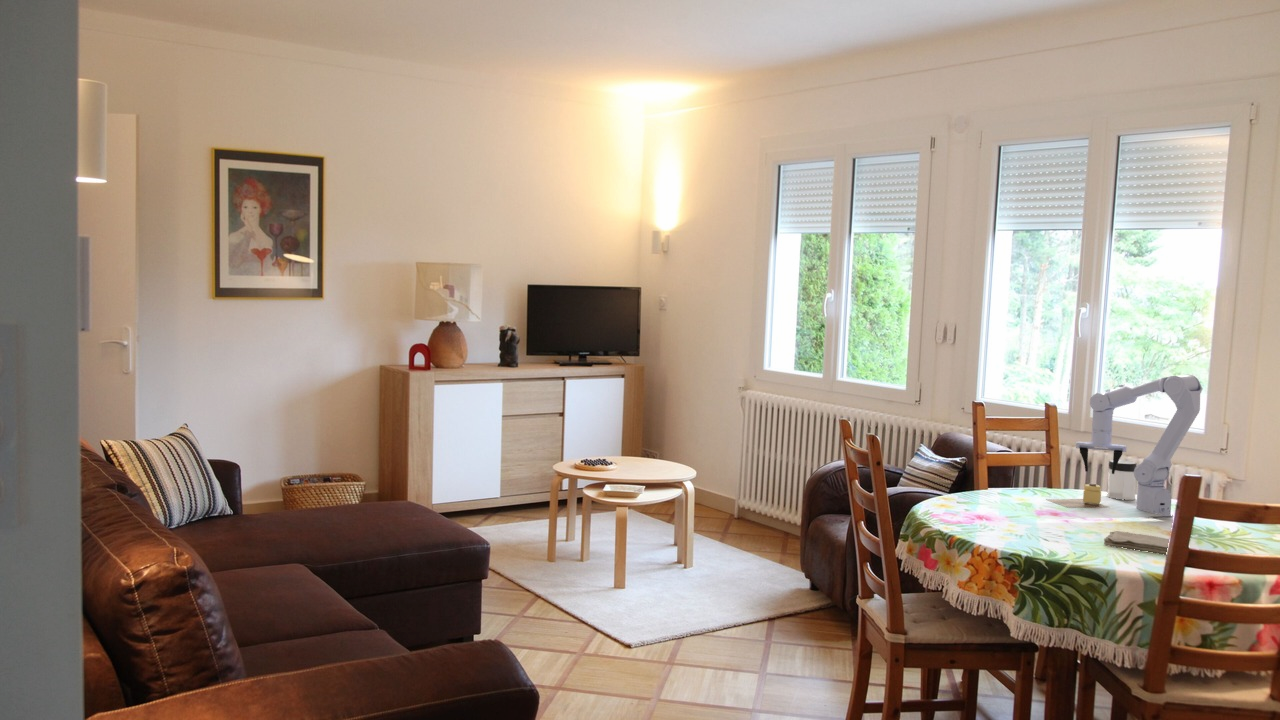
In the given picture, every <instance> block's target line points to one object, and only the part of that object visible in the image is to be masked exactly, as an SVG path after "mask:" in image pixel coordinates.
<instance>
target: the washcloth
mask: <svg viewBox="0 0 1280 720" xmlns="http://www.w3.org/2000/svg"><path fill="white" fill-rule="evenodd" d="M1169 539H1170V538H1165V537H1160V536H1156V535H1149V534H1141V533H1133V532H1130V531H1129V532H1127V531H1121V530H1114V531H1110V532H1109V534H1108V535H1107V536H1106V537H1105V538H1104V539H1103V541H1104V542H1103V544H1104V545H1105V546H1107V545H1110V546H1109V547H1112V546H1116V547H1115V548H1118V547H1123V548H1127V549H1126V550H1130V549H1132V550H1131V551H1136V550H1140V551H1139V552H1142V551H1148V552H1147V553H1149V552H1153V553H1152V554H1156V553H1159V554H1158V555H1163V554H1164V555H1163V556H1167V555H1166V552H1167V548H1168V543H1169ZM1123 548H1122V549H1123ZM1134 549H1135V550H1134Z"/></svg>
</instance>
